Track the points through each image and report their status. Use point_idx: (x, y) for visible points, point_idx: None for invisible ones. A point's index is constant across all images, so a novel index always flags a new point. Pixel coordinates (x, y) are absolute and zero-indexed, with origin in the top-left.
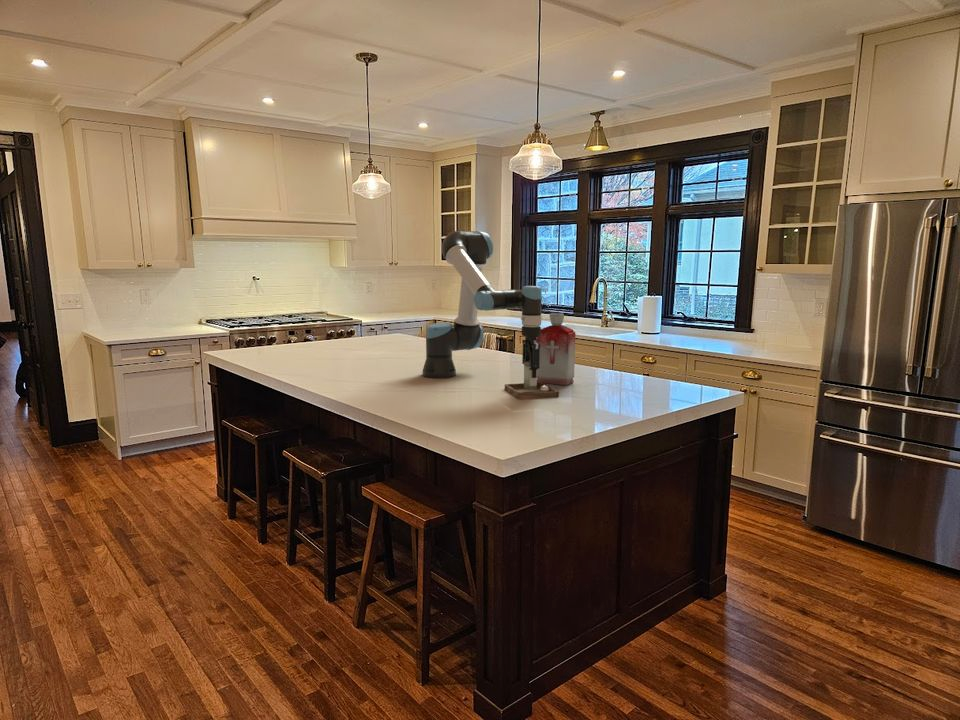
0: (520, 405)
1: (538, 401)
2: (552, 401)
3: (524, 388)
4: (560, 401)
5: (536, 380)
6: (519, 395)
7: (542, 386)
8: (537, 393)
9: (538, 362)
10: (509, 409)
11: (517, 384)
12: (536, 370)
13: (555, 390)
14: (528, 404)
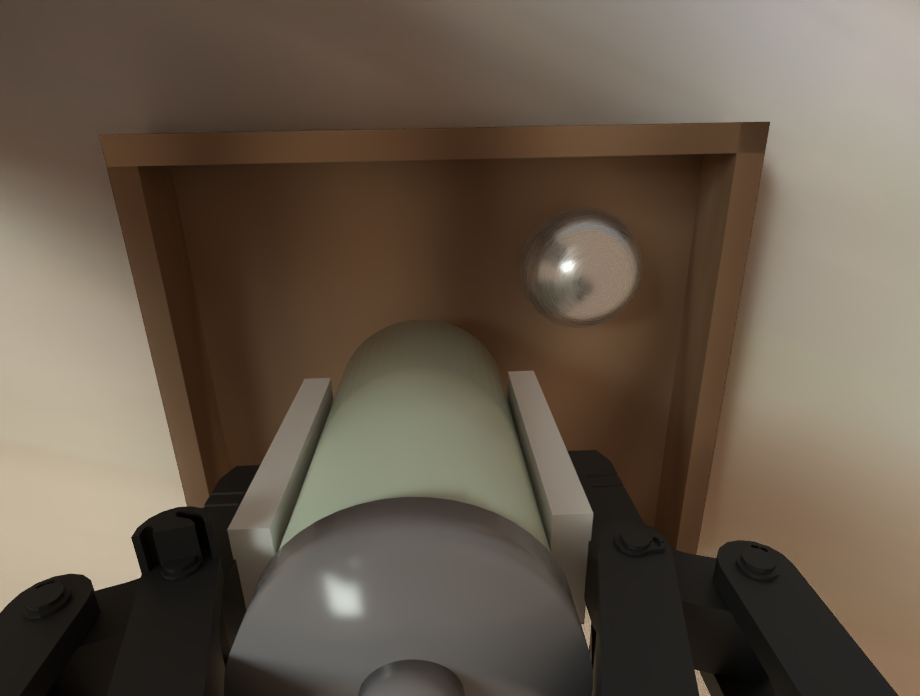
0: (816, 562)
1: (762, 388)
2: (826, 254)
3: (217, 374)
4: (869, 165)
5: (547, 406)
6: None
7: (601, 311)
8: (720, 404)
9: (872, 693)
10: (881, 652)
11: (207, 476)
12: (587, 506)
13: (684, 138)
14: (818, 499)
